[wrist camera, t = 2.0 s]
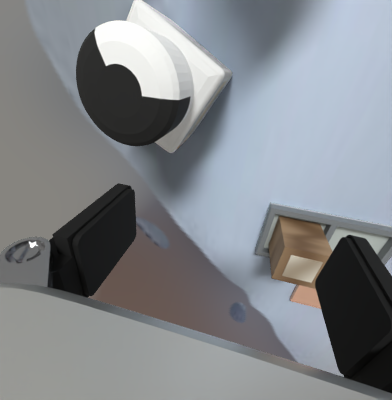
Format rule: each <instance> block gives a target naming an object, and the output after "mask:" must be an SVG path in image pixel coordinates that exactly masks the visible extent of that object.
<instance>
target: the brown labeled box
mask: <svg viewBox="0 0 392 400" xmlns="http://www.w3.org/2000/svg"><path fill="white" fill-rule="evenodd" d="M331 254H332V249H331V247H330V245H329V243H328V240H327V238H326V236H325V234H324V232H323V229H322V227H321V225H320V224H319V223H314V222H309V221H304V220H299V219H294V218H289V217H284V216H279V217H278V220H277V223H276V225H275V228H274V231H273V234H272V236H271V239H270V242H269V255H270V265H271V276H272V279H276V280H281V281H285V282H289V283H293V284H297V285H301V286H305V287H309V288H313V289H316V288H315V281H316V278H317V277H318V275H319V273H320V272H321V270H322V268H323V267H324V265H325V263H326V262H327V260H328V259H329V257H330V255H331Z"/></svg>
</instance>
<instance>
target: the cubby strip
mask: <svg viewBox="0 0 392 400" xmlns="http://www.w3.org/2000/svg"><path fill="white" fill-rule="evenodd" d="M279 216H284V217H289V218H294V219H299V220H304V221H309V222H314V223H319V224H320V225H321V227H322V229H323V232H324V234H325V236H326V238H327V240H328V243H329V245H330V247H331V249H332V252H333V250H334V249H335V247H336V245H337V244H338V242H339V240H340V239H341V238H342V237H346V236H347V235H353V236H358V237H362V238H366V239H367V241H368V242H369V243H370V245H371V246H372V248H373V249H374V251H375V252H376V254H377V255H378V257H379V258H380V260H381V261H382V263H383V264H384V265H385V264H386V263H387V261H388V260H389V259H390V258H391V256H392V226H388V225H383V224H378V223H373V222H368V221H362V220H357V219H352V218H347V217H342V216H337V215H332V214H326V213H321V212H316V211H311V210H306V209H301V208H296V207H291V206H285V205H280V204H275V203H270V206H269V209H268V212H267V215H266V218H265V221H264V224H263V227H262V230H261V233H260V236H259V240H258V243H257V246H256V255H260V256H265V257H269V258H270V255H269V242H270V239H271V236H272V234H273V231H274V228H275V225H276V223H277V220H278V217H279Z"/></svg>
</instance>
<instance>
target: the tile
mask: <svg viewBox="0 0 392 400" xmlns="http://www.w3.org/2000/svg"><path fill="white" fill-rule="evenodd" d="M290 300H291V301H292V302H296V303H300V304H304V305H308V306H312V307H316V308H320V309H321V306H320V302H319V299H318V295H317V292H316V289H313V288H309V287H305V286H301V285H297V286H296V287H295V289H294V291H293V293H292V295H291V297H290Z"/></svg>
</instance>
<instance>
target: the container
mask: <svg viewBox="0 0 392 400" xmlns="http://www.w3.org/2000/svg"><path fill="white" fill-rule="evenodd" d="M231 77H232V72H231V70H229V69H228V68H227V67H226V66H225V65H224V64H222V63H221V62H220V61H219V60H218V59H217V58H215V57H214V56H213V55H212V54H211V53H210V52H208V51H207V50H206V49H205V48H204V47H203V46H201V45H200V44H199V43H198V42H197V41H196V40H194V39H193V38H192V37H191V36H190V35H189V34H187V33H186V32H185V31H184V30H183V29H182V28H180V27H179V26H178V25H177V24H176V23H175V22H173V21H172V20H170V19H169V18H167V17H166V16H164V15H163V14H161V13H160V12H158V11H157V10H156V9H154V8H153V7H151V6H150V5H148V4H147V3H145V2H144V1H142V0H134V2H133V4H132V7H131V10H130V12H129V15H128V18H127V21H110V22H107V23H104V24H101V25H100V26H98V27H96V28H95V29H94V30H93V31H92V32H90V33H89V35H88V36H87V37H86V39H85V40H84V42H83V44H82V46H81V48H80V51H79V54H78V59H77V66H76V80H77V87H78V91H79V95H80V98H81V101H82V103H83V106H84V108H85V110H86V111H87V113H88V115H89V116H90V118H91V119H92V120H93V122H94V123H95V124H96V125H97V127H98V128H99V129H100V130H101V131H103V132H104V133H105V134H106V135H107V136H109V137H110V138H112V139H114V140H116V141H117V142H120V143H123V144H126V145H130V146H144V145H148V144H151V143H154V142H155V143H156V144H158V145H159V146H160V147H162V148H163V149H164V150H166V151H167V152H168V153H174V152H175V151H176V150H177V149H178V148H179V147H180V146H181V145H182V144H183V143H184V142H185V141H186V140H187V139H188V138H189V137H190V136H191V135H192V134H193V133H194V131H195V130H196V128H197V127H198V126H199V124H200V123H201V121H202V120H203V118H204V117H205V115H206V114H207V112H208V111H209V110H210V108H211V107H212V105H213V104H214V102H215V101H216V99H217V98H218V96H219V95H220V93H221V92H222V91H223V89H224V88H225V86H226V85H227V83H228V82H229V80H230V79H231Z"/></svg>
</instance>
